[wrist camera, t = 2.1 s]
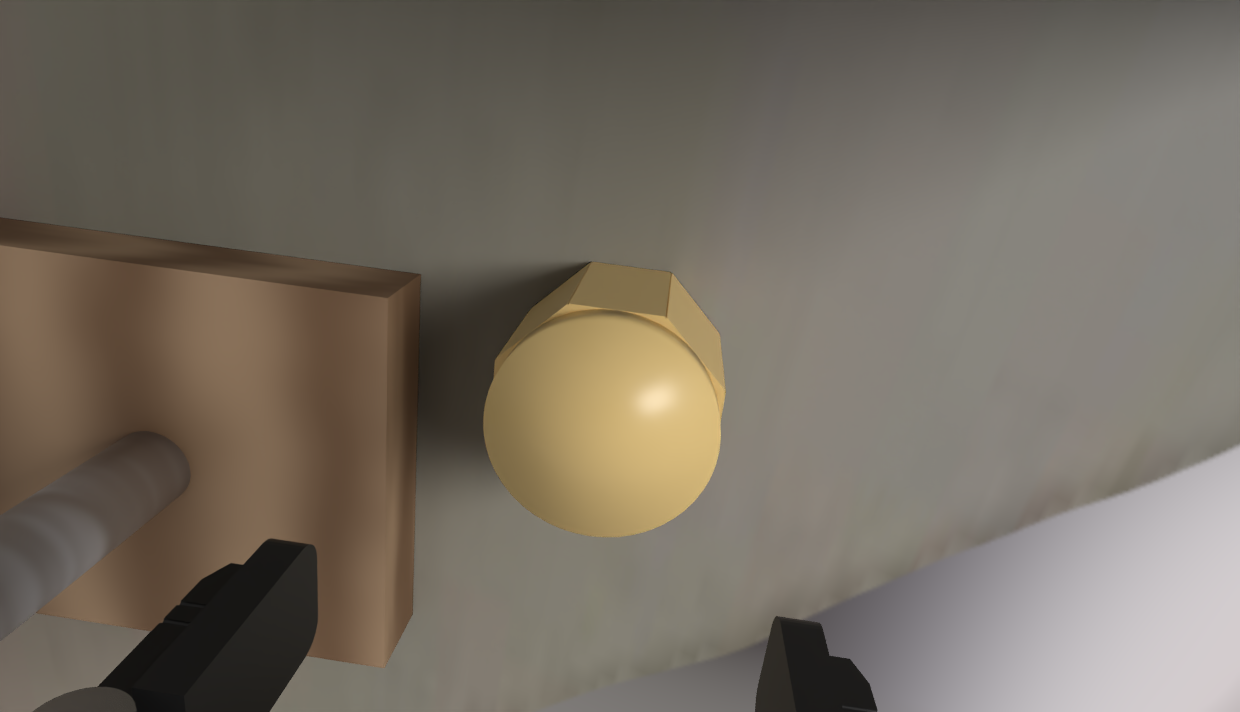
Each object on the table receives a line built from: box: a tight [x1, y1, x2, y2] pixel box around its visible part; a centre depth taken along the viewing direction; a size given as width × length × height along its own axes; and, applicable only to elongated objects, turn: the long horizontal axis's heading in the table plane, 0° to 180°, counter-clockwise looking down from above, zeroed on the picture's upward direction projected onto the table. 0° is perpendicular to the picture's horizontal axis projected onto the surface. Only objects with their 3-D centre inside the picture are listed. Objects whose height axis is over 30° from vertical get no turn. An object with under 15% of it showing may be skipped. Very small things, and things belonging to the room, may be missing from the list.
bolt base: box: [0, 218, 421, 668], centre depth 24 cm, size 16×14×11 cm
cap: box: [483, 262, 726, 537], centre depth 23 cm, size 6×6×6 cm
